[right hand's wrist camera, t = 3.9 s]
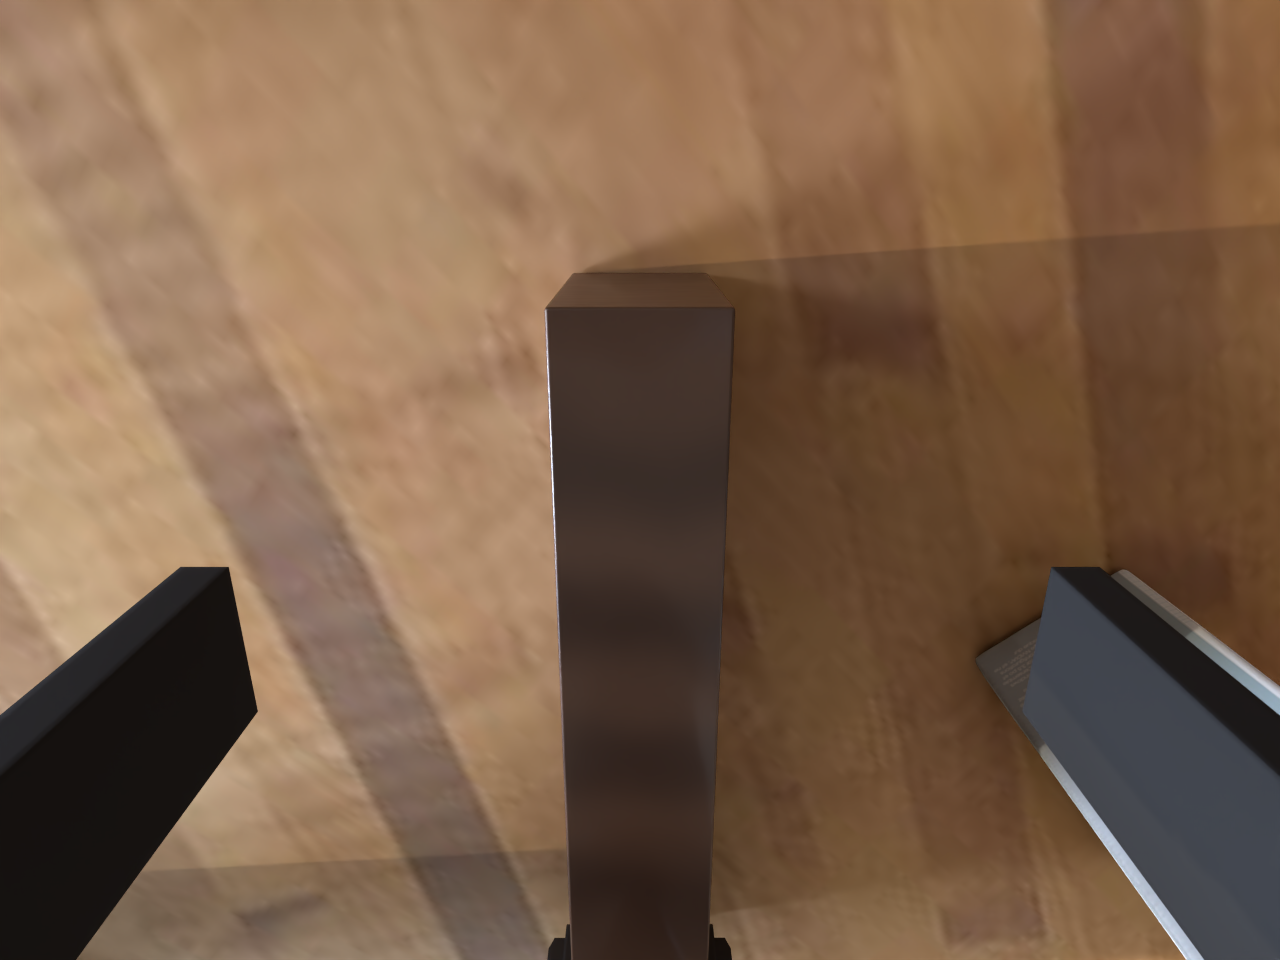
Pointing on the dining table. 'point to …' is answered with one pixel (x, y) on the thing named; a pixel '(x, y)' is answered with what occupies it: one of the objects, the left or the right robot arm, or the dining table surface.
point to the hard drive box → (1009, 681)
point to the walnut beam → (639, 599)
